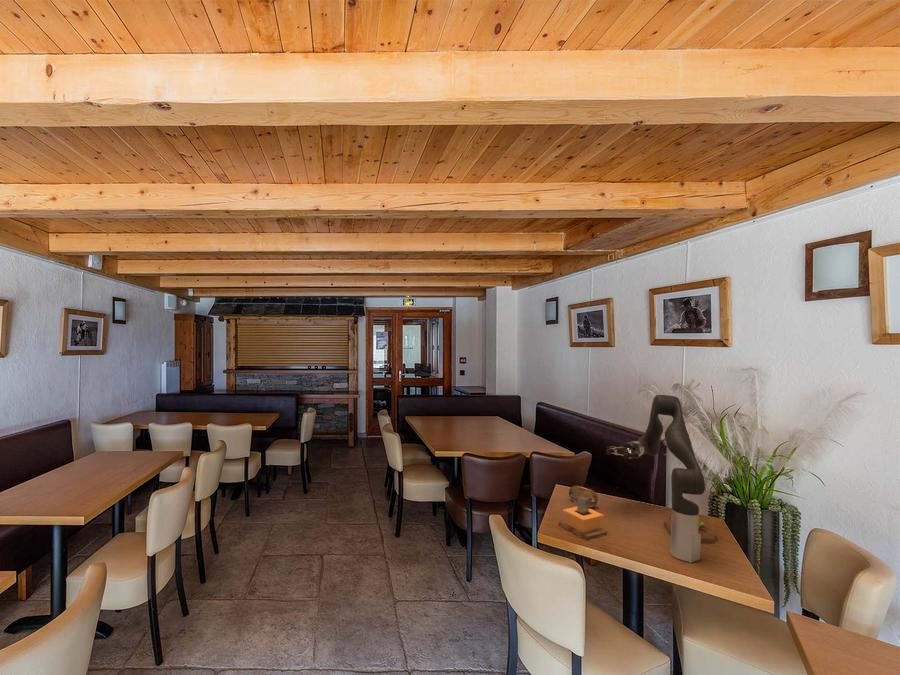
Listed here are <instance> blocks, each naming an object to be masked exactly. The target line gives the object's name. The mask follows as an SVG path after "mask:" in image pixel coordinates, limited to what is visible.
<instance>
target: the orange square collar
mask: <svg viewBox="0 0 900 675" xmlns="http://www.w3.org/2000/svg"><path fill="white" fill-rule="evenodd" d="M562 512H563V513H565V514H566V519H565V520H566V524H567V525H569V526H571V527H573V528H575V529H577V530H579V531H581V532H583V533H585V532H588V531H592V530H596V529H599V527H600V520H601V518H605V515H604V514H602V513H601V512H598V511H596V510H593V509H591V507H590V508H589V515H585V516H583V515H581V514H579V513H577V506H573V507H567V508H564V509H562Z"/></svg>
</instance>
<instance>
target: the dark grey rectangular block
mask: <svg viewBox="0 0 900 675" xmlns="http://www.w3.org/2000/svg"><path fill="white" fill-rule="evenodd" d="M576 504H577V505H576V507H577V513H579V514H581V515H583V516H585V515H589V498H586V497H583V496H581V497H579V498H578V499H577V503H576Z"/></svg>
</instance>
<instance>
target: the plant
mask: <svg viewBox="0 0 900 675" xmlns="http://www.w3.org/2000/svg"><path fill="white" fill-rule="evenodd" d="M663 526H664V528H665V529H666V531H667V534H668V535H670V536H671V519H669V518H667V519H664V520H663ZM698 533H699V534H701V544H707V545H708V543H709V545H715V543H716V542H718V533H717V532H716V530H715V529H712V528H711V527H710V526H709V525H708V524H705V523H704V522H699V528H698Z"/></svg>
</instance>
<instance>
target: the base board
mask: <svg viewBox="0 0 900 675" xmlns="http://www.w3.org/2000/svg"><path fill="white" fill-rule="evenodd" d="M566 520H567V519H565V520H560V521H559V522H558V525H559V526H560V527H562V528H563V529H565V530H567V531H569V532H571V533H573V534H575V535H576V534H577V536H578V535H579V536H578V537H580V536H581V537H580V538H582V537H583V538H582V539H584V538H585V539H584V540H586V539H587V540H586V541H589V540H588V539H590V540H592V538H593V539H596V538H595V537H597V538H600V537H603V535H604V536H607V535H608V530H606V529H604V528H602V527H600V526H599V529H596V530H592V531H588V532H585V533H583V532H581V531H579V530H577V529H575V528H573V527H571V526H569V525H567V524H566ZM599 536H600V537H599Z"/></svg>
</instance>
